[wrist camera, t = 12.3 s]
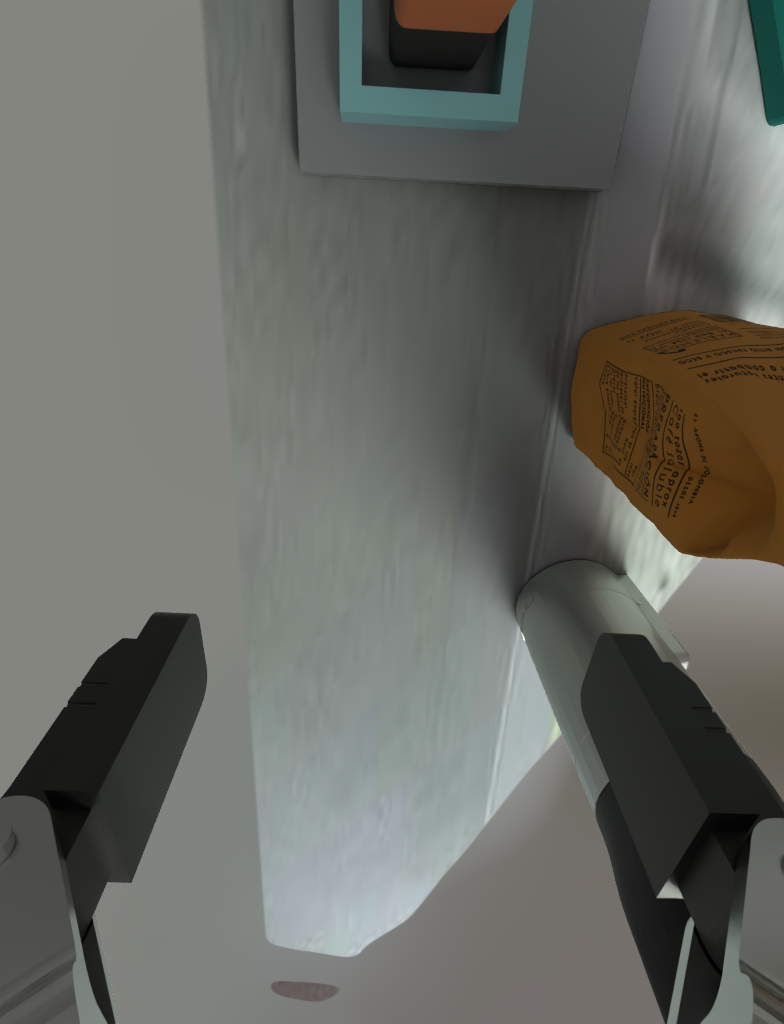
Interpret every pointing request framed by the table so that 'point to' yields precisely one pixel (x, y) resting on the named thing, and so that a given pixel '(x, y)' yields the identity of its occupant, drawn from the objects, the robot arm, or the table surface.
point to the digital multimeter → (770, 54)
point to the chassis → (469, 97)
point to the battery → (443, 31)
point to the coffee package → (689, 427)
